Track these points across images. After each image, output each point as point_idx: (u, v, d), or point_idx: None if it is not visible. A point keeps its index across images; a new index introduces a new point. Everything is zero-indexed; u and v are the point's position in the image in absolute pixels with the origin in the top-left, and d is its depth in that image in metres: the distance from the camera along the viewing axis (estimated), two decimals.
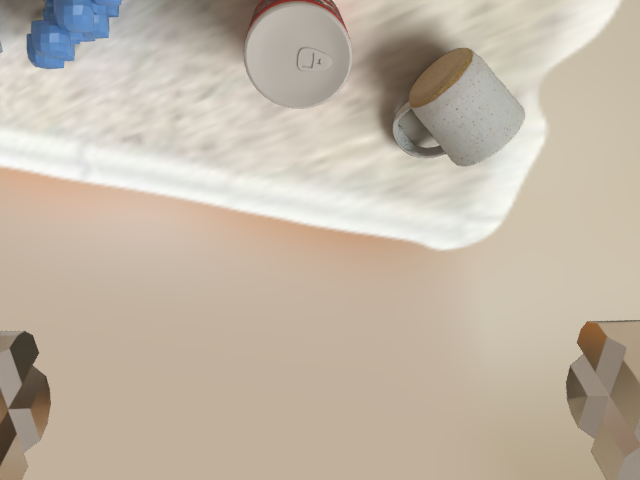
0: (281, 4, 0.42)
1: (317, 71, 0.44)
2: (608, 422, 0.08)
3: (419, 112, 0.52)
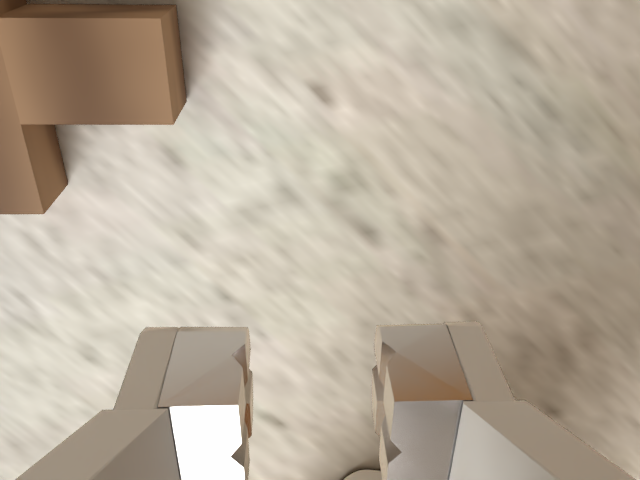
0: None
1: None
2: (386, 427, 0.08)
3: None
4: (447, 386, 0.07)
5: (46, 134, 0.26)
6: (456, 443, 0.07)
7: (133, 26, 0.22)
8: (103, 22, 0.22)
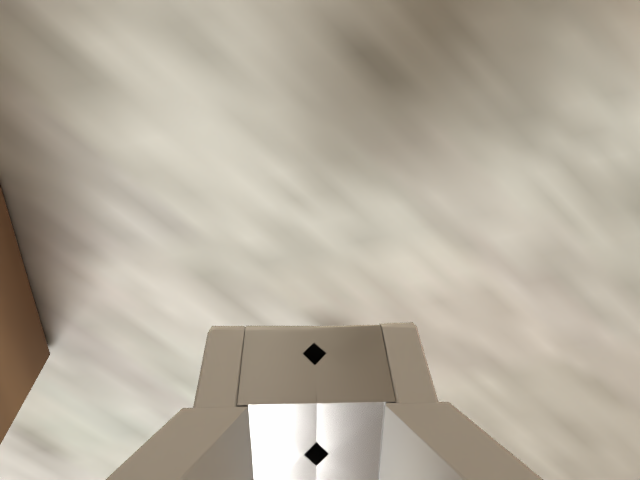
0: None
1: None
2: None
3: None
4: (372, 388, 0.07)
5: None
6: (382, 446, 0.07)
7: None
8: None
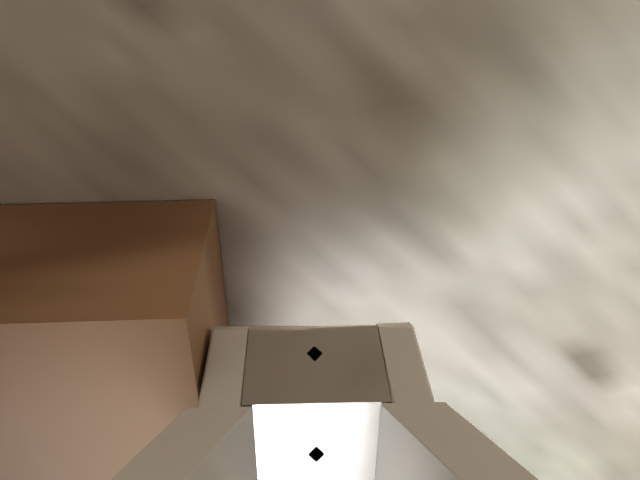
0: None
1: None
2: None
3: None
4: (368, 388, 0.07)
5: None
6: (379, 446, 0.07)
7: (101, 340, 0.07)
8: (4, 333, 0.07)
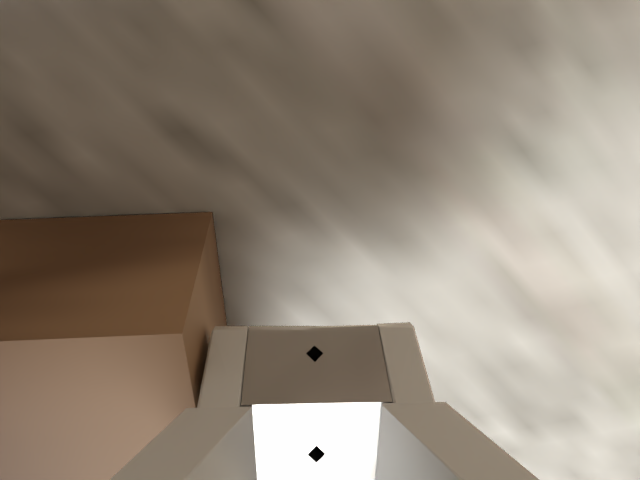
0: None
1: None
2: None
3: None
4: (369, 388, 0.07)
5: None
6: (378, 446, 0.07)
7: (98, 355, 0.07)
8: (3, 351, 0.07)
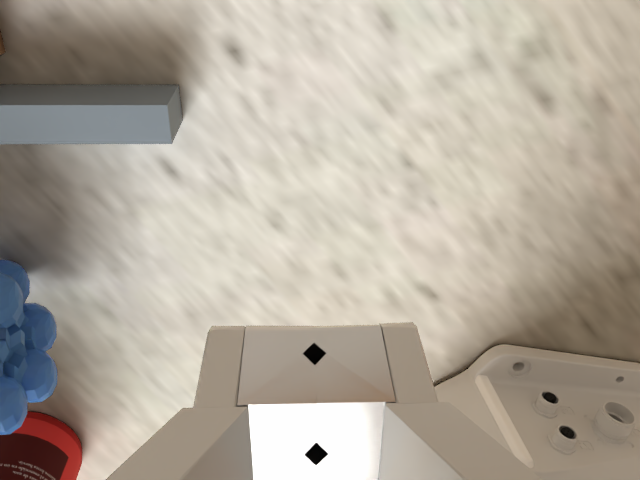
0: None
1: None
2: None
3: None
4: (372, 388, 0.07)
5: None
6: (382, 446, 0.07)
7: None
8: None
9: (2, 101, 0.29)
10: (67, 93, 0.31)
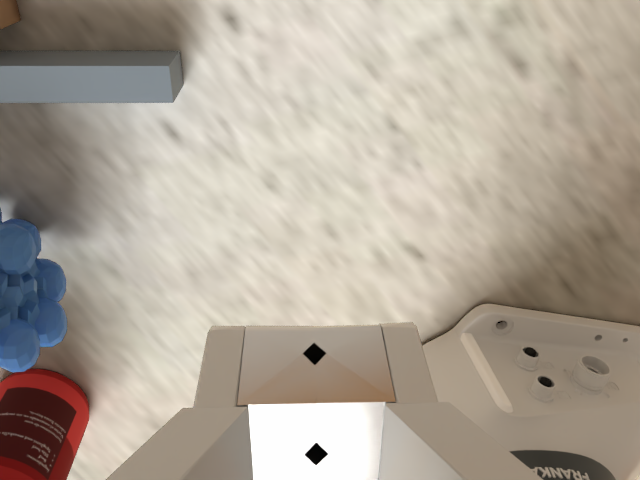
0: None
1: None
2: None
3: None
4: (372, 388, 0.07)
5: None
6: (382, 446, 0.07)
7: None
8: None
9: (18, 63, 0.32)
10: (77, 57, 0.33)
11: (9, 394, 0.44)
